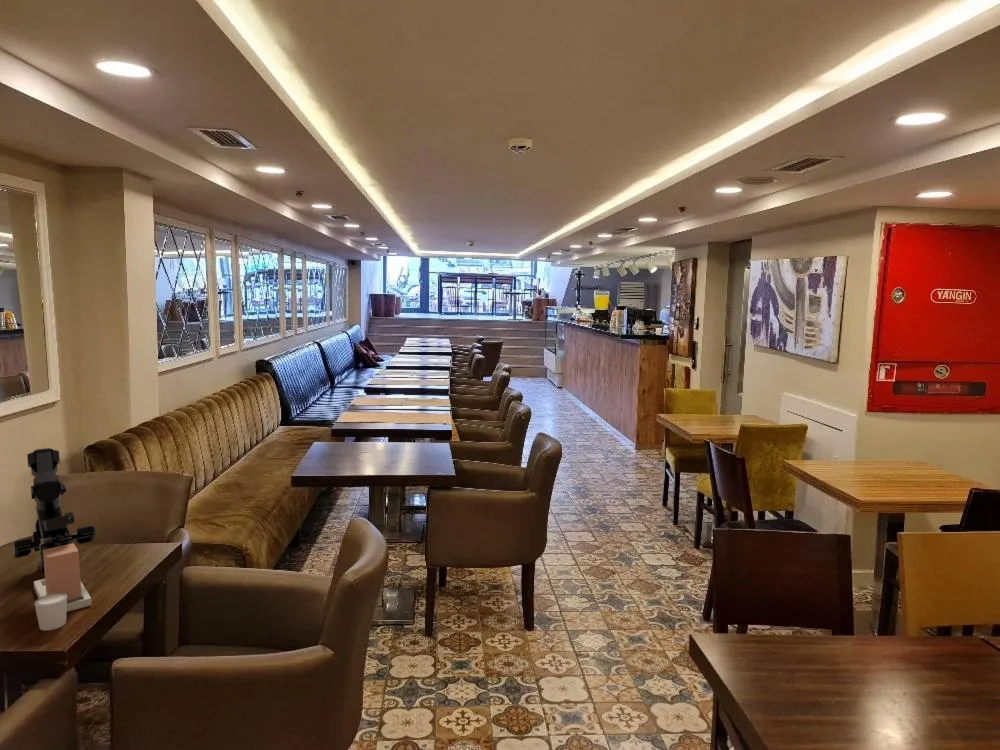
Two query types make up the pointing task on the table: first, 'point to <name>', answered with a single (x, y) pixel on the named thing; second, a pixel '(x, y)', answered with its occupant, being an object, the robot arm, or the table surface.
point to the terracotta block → (62, 571)
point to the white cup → (51, 611)
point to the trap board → (71, 604)
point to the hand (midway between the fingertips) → (60, 568)
